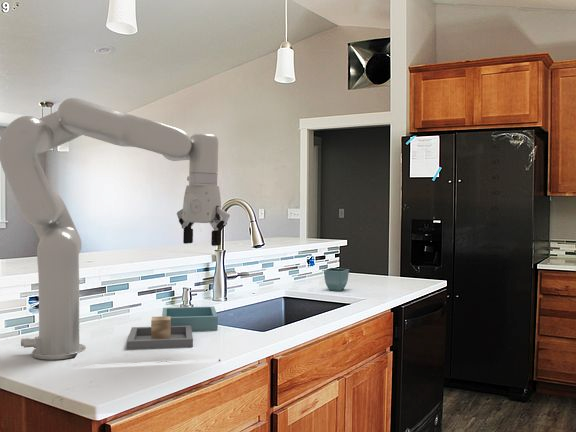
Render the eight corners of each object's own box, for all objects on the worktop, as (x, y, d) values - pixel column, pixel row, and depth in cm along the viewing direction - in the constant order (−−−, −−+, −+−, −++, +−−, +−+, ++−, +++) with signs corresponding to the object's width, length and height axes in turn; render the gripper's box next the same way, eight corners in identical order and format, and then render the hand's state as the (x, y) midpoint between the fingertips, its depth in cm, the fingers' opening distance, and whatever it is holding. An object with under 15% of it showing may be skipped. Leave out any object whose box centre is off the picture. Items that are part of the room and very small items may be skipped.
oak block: (151, 342, 155) (151, 320, 155) (151, 338, 160) (151, 316, 160) (170, 342, 156) (170, 319, 156) (170, 337, 161) (170, 316, 161)
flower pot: (342, 292, 248) (342, 271, 248) (323, 290, 252) (323, 270, 252) (349, 289, 256) (349, 269, 256) (330, 287, 260) (330, 267, 260)
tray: (161, 335, 168) (161, 318, 168) (162, 323, 183) (163, 307, 183) (217, 333, 171) (217, 316, 171) (214, 321, 186) (214, 306, 186)
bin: (126, 353, 148) (126, 341, 148) (131, 337, 164) (131, 327, 164) (192, 350, 151) (192, 339, 151) (191, 335, 168) (191, 325, 167)
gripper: (169, 179, 157) (168, 243, 157) (220, 180, 148) (218, 247, 148) (188, 181, 163) (186, 241, 164) (237, 181, 154) (236, 245, 155)
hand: (201, 244), depth 156 cm, fingers open, 9 cm apart
